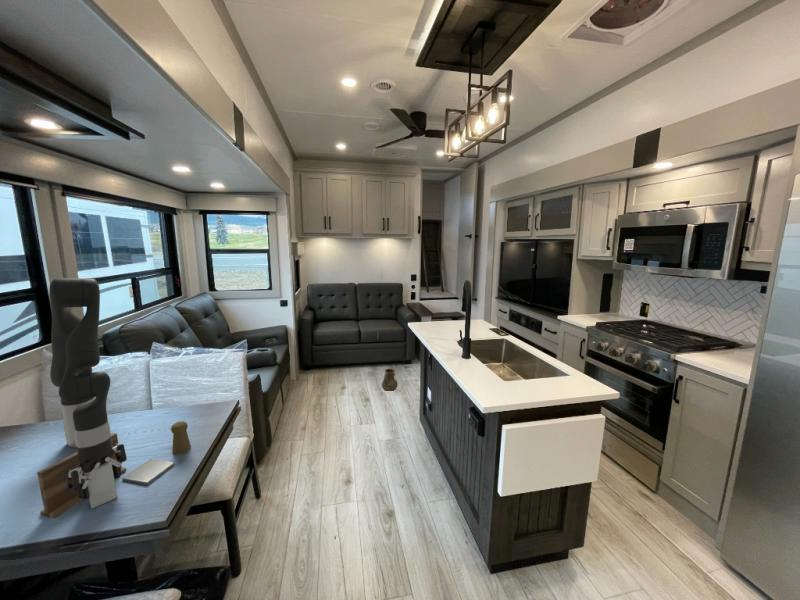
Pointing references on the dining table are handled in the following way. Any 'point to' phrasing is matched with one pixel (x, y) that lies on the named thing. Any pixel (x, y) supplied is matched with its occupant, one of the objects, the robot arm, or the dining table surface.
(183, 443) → the olive stepped cylinder
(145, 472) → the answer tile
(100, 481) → the skincare box
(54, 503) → the walnut screen
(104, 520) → the dining table surface
